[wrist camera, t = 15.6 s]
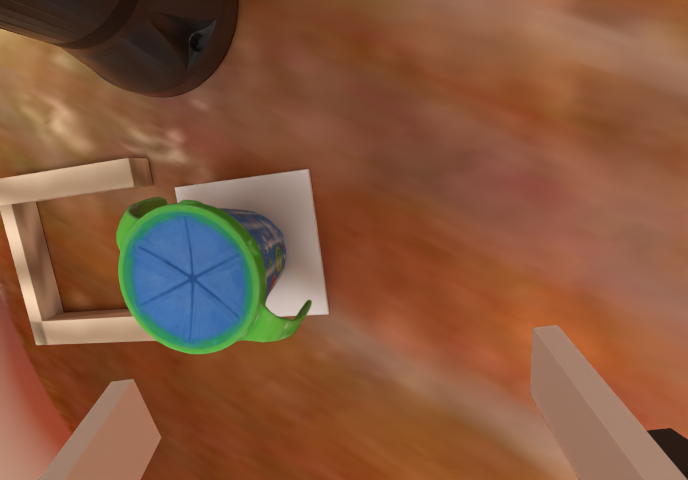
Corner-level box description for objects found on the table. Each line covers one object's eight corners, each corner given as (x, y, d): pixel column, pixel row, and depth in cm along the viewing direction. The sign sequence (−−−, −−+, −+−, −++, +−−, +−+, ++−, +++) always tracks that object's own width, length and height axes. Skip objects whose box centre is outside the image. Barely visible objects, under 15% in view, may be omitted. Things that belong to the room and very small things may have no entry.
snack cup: (351, 264, 34) (320, 303, 24) (282, 345, 37) (230, 409, 27) (217, 150, 35) (135, 143, 25) (159, 238, 38) (65, 263, 28)
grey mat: (177, 187, 37) (174, 187, 36) (309, 169, 34) (307, 169, 34) (202, 318, 39) (200, 320, 38) (329, 312, 36) (328, 314, 36)
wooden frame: (18, 179, 40) (-8, 180, 38) (147, 158, 37) (128, 157, 35) (58, 335, 43) (36, 345, 41) (182, 329, 40) (166, 340, 37)
